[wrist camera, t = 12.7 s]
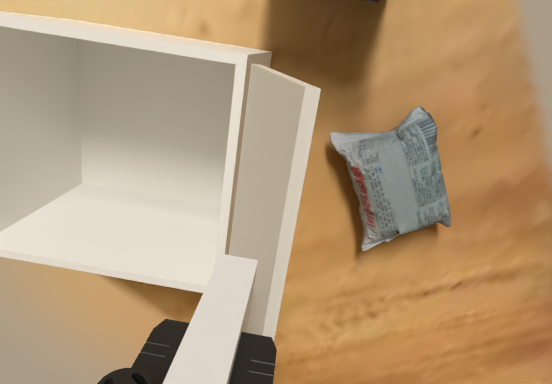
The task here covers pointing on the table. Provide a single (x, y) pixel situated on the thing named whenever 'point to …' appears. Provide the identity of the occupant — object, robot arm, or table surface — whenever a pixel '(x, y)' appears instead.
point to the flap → (271, 184)
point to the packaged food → (396, 178)
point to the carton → (119, 148)
